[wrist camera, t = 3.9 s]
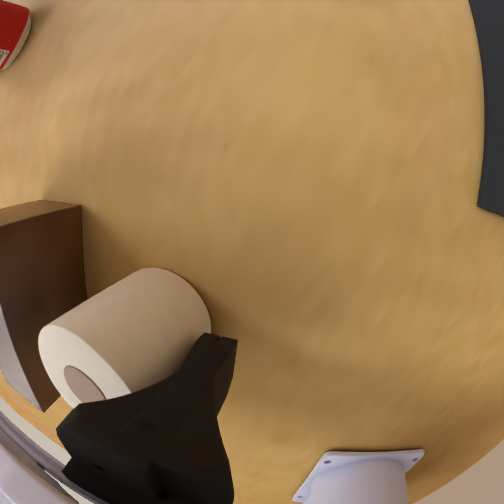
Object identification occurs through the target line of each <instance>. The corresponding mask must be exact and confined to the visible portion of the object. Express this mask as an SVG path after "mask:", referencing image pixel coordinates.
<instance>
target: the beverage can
mask: <svg viewBox="0 0 504 504" xmlns="http://www.w3.org/2000/svg"><path fill="white" fill-rule="evenodd" d="M30 28H31V19H30V14H29V9H28V8H26V7H23V6H20V5H17V4H14V3H10V2H7V1H3V0H0V71H2V70H3V69H5V68H7V67H8V66H9V65H10V64H11V63H12V62H13V61H14V60H15V58H16V57H17V55H18V54H19V52H20V51H21V49H22V47H23V45H24V43H25V41H26V39H27V37H28V34H29V31H30Z"/></svg>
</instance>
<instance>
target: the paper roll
mask: <svg viewBox="0 0 504 504" xmlns="http://www.w3.org/2000/svg"><path fill="white" fill-rule="evenodd" d="M204 332H206V333H210V334H211V322H210V317H209V314H208V311H207V308H206V306H205V304H204V302H203V300H202V299H201V297H200V296H199V294H198V293H197V292H196V291H195V290H194V288H193V287H192V286H191V285H190V284H189V283H188V282H186V281H185V280H184V279H182V278H181V277H180V276H178V275H176V274H175V273H172V272H170V271H168V270H165V269H161V268H153V267H149V268H143V269H140V270H137V271H135V272H134V273H132V274H130V275H128V276H127V277H125V278H123V279H122V280H120V281H118V282H116V283H115V284H113V285H111V286H110V287H108V288H106V289H105V290H103V291H101V292H99V293H98V294H96V295H94V296H93V297H91V298H90V299H88V300H86V301H85V302H83V303H81V304H80V305H78V306H76V307H75V308H73V309H72V310H70V311H68V312H67V313H65V314H63V315H62V316H60V317H59V318H57V319H56V320H54V321H52V322H51V323H49V324H48V325H46V326H45V327H43V328H42V330H41V331H40V334H39V338H38V346H39V352H40V356H41V360H42V362H43V365H44V367H45V370H46V372H47V374H48V376H49V377H50V379H51V381H52V383H53V384H54V386H55V387H56V389H57V390H58V392H59V393H60V394H61V396H62V397H63V398H64V399H65V400H66V402H67V403H68V404H69V405H70V406H71V407H72V408H73V409H74V408H75V407H76V406H77V405H78V404H79V403H87V402H94V401H101V400H107V399H111V398H116V397H120V396H123V395H127V394H130V393H133V392H136V391H139V390H141V389H144V388H146V387H149V386H151V385H153V384H156V383H158V382H160V381H162V380H164V379H166V378H167V377H169V376H171V375H173V374H174V373H176V372H178V371H179V370H180V368H181V366H182V365H183V363H184V361H185V359H186V357H187V356H188V354H189V352H190V350H191V349H192V347H193V345H194V343H195V342H196V340H197V339H198V338H199V337H200V336H201V335H202V334H203V333H204Z"/></svg>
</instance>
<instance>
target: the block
mask: <svg viewBox="0 0 504 504" xmlns="http://www.w3.org/2000/svg"><path fill="white" fill-rule="evenodd" d="M86 300H87V296H86V288H85V278H84V268H83V254H82V233H81V205H77V204H69V203H61V202H53V201H45V200H38V201H33V202H28V203H24V204H19V205H15V206H11V207H7V208H3V209H0V370H1V372H2V374H3V376H4V378H5V380H6V382H7V383H8V384H9V385H10V386H11V387H12V388H14V389H15V390H16V391H17V392H18V393H19V394H20V395H22V396H23V397H24V398H25V399H26V400H28V401H29V402H30V403H31V404H33V405H34V406H35V407H36V408H38V409H39V410H40V411H42V412H43V413H44V412H45V411H46V410H47V409H48V408H49V407H50V406H51V405H52V404H53V403H54V402H55V401H56V400H57V399H58V398H59V397H60V396H61V394H60V393H59V392H58V390H57V389H56V387H55V386H54V384H53V383H52V381H51V379H50V377H49V376H48V374H47V372H46V370H45V367H44V365H43V362H42V360H41V356H40V352H39V346H38V338H39V334H40V331H41V330H42V328H43V327H45V326H46V325H48V324H49V323H51V322H52V321H54V320H56V319H57V318H59V317H60V316H62V315H63V314H65V313H67V312H68V311H70V310H72V309H73V308H75V307H76V306H78V305H80V304H81V303H83V302H85V301H86Z"/></svg>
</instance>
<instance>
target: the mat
mask: <svg viewBox="0 0 504 504" xmlns="http://www.w3.org/2000/svg"><path fill="white" fill-rule="evenodd" d="M469 3H470V7H471V11H472V15H473V19H474V23H475V28H476V33H477V38H478V43H479V49H480V56H481V63H482V72H483V84H484V102H485V135H484V153H483V165H482V174H481V182H480V189H479V196H478V202H477V206H478V207H481V208H483V209H486V210H488V211H491V212H494V213H496V214H499V215H501V216H503V217H504V0H469Z"/></svg>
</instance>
